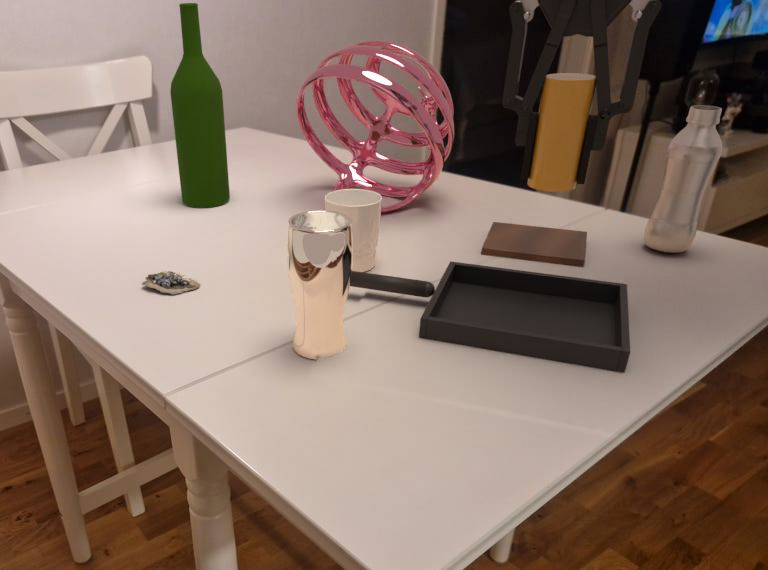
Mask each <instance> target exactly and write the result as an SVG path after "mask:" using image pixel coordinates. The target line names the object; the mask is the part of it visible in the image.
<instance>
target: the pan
mask: <svg viewBox="0 0 768 570" xmlns="http://www.w3.org/2000/svg"><path fill="white" fill-rule="evenodd" d="M628 297H629V295H628V284H627V283H620V282H614V281H606V280H598V279H591V278H590V279H589V278H583V277H575V276H567V275H558V274H551V273H543V272H537V271H528V270H522V269H521V270H520V269H512V268H505V267H496V266H489V265H481V264H475V263H474V264H473V263H467V262H466V263H465V262H458V261H449V263H448V265H447V267H446V268H445V270H444V273H443V274H442V276H441V278H440V280H439V282H438V284H437V286H436V287H435V292H434V294H433V295H432V296H430V299H429V301H428V303H427V305H426V307H425V309H424V311H423V312H422V314H421V316H420V320H419V329H418V331H419V332H418V339H423V340H428V341H429V340H430V341H436V342H441V343H447V344H451V345H459V346H465V347H471V348H476V349H482V350H489V351H494V352H499V353H505V354H512V355H517V356H524V357H528V358H535V359H541V360H546V361H552V362H558V363H564V364H569V365H574V366H575V365H576V366H581V367H587V368H593V369H599V370H604V371H611V372H616V373H621V374H625V372H626V369H627V365H628V363H629V358H630V355H631V338H630V318H629V299H628Z"/></svg>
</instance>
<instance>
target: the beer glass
mask: <svg viewBox="0 0 768 570" xmlns="http://www.w3.org/2000/svg"><path fill="white" fill-rule="evenodd" d="M286 247H287V248H286V258H287V259H286V260H287V261H286V262H287V273H288V280H289V286H290V291H291V295H292V300H293V306H294V310H295V318H296V319H295V331H294V335H293V343H292V347H293V350H294V352H295V353H296V354H297V355H299V356H300V357H303V358H305V359H309V360H315V361H318V360H319V358H327V357H332V356H335V355H338V354H340V353H341V352H343V351H344V350H345V349H346V347H347V339H346V338H347V337H346V333H345V326H344V325H345V324H344V323H345V321H344V319H345V310H346V305H347V300H348V295H349V290H350V287H351V286H350V281H351V275H352V266H353V237H352V219H351V218H350V217H349V216H348V215H346V214H343V213H340V212H335V211H327V210H325V209H324V210H323V209H319V210H317V209H315V210H307V211H302V212H299V213H296V214H294V215H291V216H290V217H289V219H288V229H287V245H286Z"/></svg>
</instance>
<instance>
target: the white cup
mask: <svg viewBox="0 0 768 570" xmlns="http://www.w3.org/2000/svg"><path fill="white" fill-rule="evenodd" d="M332 191H333V190H332ZM332 191H330V192H328V193H326V194H325V195H324V210H327V211H335V212H340V213H343V214H346V215H348V216H349V217H350V218H351V219H352V237H353V266H352V271H357V272H364V273H366V272H368V271H371V270H372V269H373V268H374V267H375V266H376V255H377V247H378V243H379V236H380V235H379V234H380V227H381V226H380V225H381V216H382V215H381V214H382V213H381V207H383V206H382V204H383V195H380V194H379V193H376V192H374V191H370V190H365V189H363V188H350V189H342V190H336V191H333V192H332Z"/></svg>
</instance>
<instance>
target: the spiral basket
mask: <svg viewBox="0 0 768 570" xmlns="http://www.w3.org/2000/svg"><path fill="white" fill-rule="evenodd" d="M356 55H357V56H365V57H367V59H366V61H365V66H360V65H355V64H352V61H353V59H354V57H356ZM403 56H404V57H403ZM339 57H340V58H339ZM405 57H406V58H409V59H411V60H413V61H415V62H416V63H417V64H418V65H420V66H421V67H422V68H423V69H424V70H425V72H426V73H427V74H428V75H427V74H426V73H425V72H424V71H423V70H422V69H420V68H419V67H418V65H416V64H414V63H413V62H411V61H410V60H409V59H406V58H405ZM336 58H339V60H338V62H337V63H334V64H330V63H331V62H332V61H333V60H335V59H336ZM382 62H385V63H387V64H390V65H391V66H393V67H395V68H397V69H399V70H400V71H402V72H403V73H405V74H406V75H408V76H409V77H410V78H412V79H413V80H414V81H416V82H417V83H418V84H419V85H420V86H418V87H417V91H418V94H419V96H420V99H421V101H420V100H418V99H417V98H416V97H415V96H414V95H413V94H412V93H411V92H409V90H407V89H406V88H405V86H404V85H401V84H399V83H398V82H396V81H394V80H393V79H391V78H390V77H388V76H386V75H384V74H382V73H380V68H381V63H382ZM332 78H333V79H335V80H336V84H337V88H338V92H339V94H340V97H341V99H342V101H343V103H344V104H345V106H346V108H347V109H348V110H349V112H350V113H351V114H352V116H354V118H355V119H356V120H357V121H358V122H359V123H360V124H361V125H363V126H364V127H365V128H366V129H367V131H368V136H367V138H366V139H365V140H364V141H360V140H358V139H357V138H355V137H354V136H353V135H352V134H351V133H350V132H349V131H348V130H347V129H346V128H345V127H344V126H343V124H342V123H341V122H340V120H339V119H338V118H337V117H336V115H335V114H334V112H333V110H332V109H331V106H330V105H329V102H328V100H327V96H326V92H325V87H324V79H332ZM352 81H355V82H358V83H359V84H360V83H361V84H364V85H365V86H368V87H369V88H370V90H371V91H372V93H373V94H374V95H375V97H376V98H377V99H378V100H379V101H380V102H381V103H382V104H383V105H384V106H385V109H384V112H383V113H382V115H381V116H375V115H374V114H373V113H372V112H371V111H370V110H369V109H368V107H366V106H365V105H364V104H363V102H362V101H361V99H360V98H359V97H358V95H357V92H356V91H355V89H354V86H353V84H352ZM310 85H311V93H312V99H313V103H314V107H315V109H316V112H317V114H318V116H319V118H320V119H321V121H322V122H323V123H322V124H324V126H325V127H326V129H327V130H328V131H329V132H330V134H331V135H332V136H333V137H334V138H335V139H336V141H337V142H339V144H340V145H342V146H343V147H344V148H345V149H346V150H347V151H348V152H350V154H351V155H352V161H351V162H350V163H348V164H347V163H344V162H343V161H342V160H340V159H338V158H337V157H336V156H335V155H334V154H333V153H332V152H331V151H330V150H329V149H328V147H326V146H325V145H324V143H323V141H321V139H320V138H319V137H318V135H317V134H316V132H315V131H314V129H313V127H312V125H311V122H310V121H309V118H308V116H307V115H308V114H307V113H306V107H305V93H306V90H307V88H308V87H309V86H310ZM422 88H423V89H422ZM424 90H425V91H426V92H427V93H428V94H429V96H428V95H427V93H426V92H425V91H424ZM438 108H439V110H440V112H441V114H442V116H443V121H442V122H441V123H440V124H439V123H438V121H437V116H436V112H437V110H438ZM454 110H455V107H454V102H453V97H452V93H451V91H450V88H449V87H448V85H447V82H446V81H445V79H444V78H443V76H442V75H441V73H440V72H439V71H438V69H437V68H436V67H435V66H434V65H433V63H431V62H430V61H429V60H428V59H427V58H425V57H424V56H422V55H421V54H420V53H419V52H417V51H415V50H414V49H412V48H410V47H408V46H406V45H403V44H401V43H398V42H395V41H390V40H386V39H369V40H368V39H367V40H363V41H360V42H357V43H355V44H353V45H350V46H349V45H348V46H345V47H342V48H339V49H337V50H335V51H333V52H331V53H330V54H328V55H327V56H326V57H324V59H322V60H321V62H320V63H319V64H318V66H316V69H315V70H314V71H312V72H311V73H310V74H309V75H308V76H307V77H306V78H305V79H304V81H303V82H302V84H301V86H300V88H299V90H298V92H297V95H296V100H295V115H296V119H297V122H298V127H299V129H300V130H301V133H302V135H303V137H304V139H305V141H306V142H307V144H308V145H309V147H310V148H311V149H312V150H313V152H314V153H315V154H316V156H318V157H319V159H320V160H321V161H322V162H323V163H324V164H325V165H326V166H328V167H329V168H330V169H331V170H332V171H334V172H335V173H336V175H338V177H339V180H338V182H337V184H336V185H335V187H334V189H332V191H331V192H333V191H336V190H342V189H352V188H354V187H357V188H359V189H364V190H370V191H374V192H376V193H379V194H380V195H381V196H384V197H390V198H405V199H403V200H402V201H400V202H398V203H395V204H392V205H388V206H381V214H385V213H389V212H390V213H391V212H394V211H396V210H399V209H402V208H403V207H405V206H407V205H409V204H411V203H412V202H413V201H415V200H416V199H417V198H418V197H419V196H421V195H422V194H423V193H425V192H426V191H427V190H428V189H429V188H431V186H433V185H434V183H435V182H436V181H437V180H438V179H439V177H440V175H441V173H442V171H443V169H444V164H445V162H446V161H447V159H448V158H449V156H450V155H451V152H452V149H453V146H454V142H455V133H456V132H455V131H456V130H455V121H454V120H455V119H454V117H455V115H454V114H455V111H454ZM395 114H399V115H400V114H401V115H403V116H407V117H412V119H413V120H414V121H415V122H416V124H418V126H419V127H420V129H421V130H422V132H412V131H411V132H410V131H405V130H401V129H398V128H395V127H394V126H392V125H391V121H392V117H393V116H394V115H395ZM447 135H448V139H447V144H446V146H445V145H444V138H446V136H447ZM382 141H387V142H390V143H392V144H395V145H398V146H402V147H407V148H425V147H427V148H429V154H428V157H427V158H426V159H425V160H422V161H404V160H398V159H394V158H391V157H388V156H386V155H383V154H381V153H380V152H378V145H379V144H380V142H382ZM369 166H371V167H374V168H378V169H379V170H382V171H384V172H389V173H392V174H397V175H403V176H420V175H421V176H422V178H421V179H420V181H419V182H418V183H417V184H415V185H413V186H397V185H390V184H387V183H386V184H385V183H382V182H379V181H376V180H373V179H372V178H371V179H370V178H368V177H367V176H365V174H363V173H364V169H365V168H367V167H369Z"/></svg>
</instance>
